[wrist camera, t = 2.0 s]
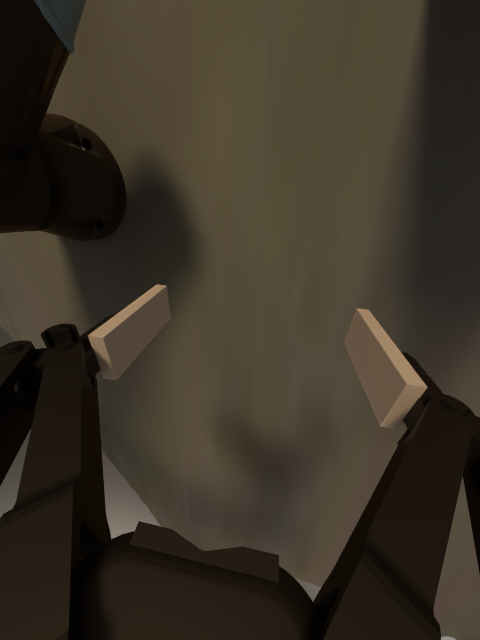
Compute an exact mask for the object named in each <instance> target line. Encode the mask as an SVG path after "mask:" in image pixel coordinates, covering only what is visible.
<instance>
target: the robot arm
mask: <svg viewBox="0 0 480 640" xmlns="http://www.w3.org/2000/svg"><path fill="white" fill-rule="evenodd" d="M85 2H86V0H0V233H9V232H24V231H44V232H47V233H51V234H55V235H59V236H63V237H66V238H70V239H74V240H81V241H88V240H98V239H102V238H105V237H107V236H109V235H110V234H112V233H113V232H114V231H115V230H116V229H117V227H118V226H119V224H120V222H121V220H122V217H123V214H124V209H125V189H124V183H123V179H122V176H121V172H120V170H119V167H118V165H117V163H116V161H115V159H114V157H113V155H112V153H111V152H110V150H109V149H108V147H107V146H106V145H105V143H104V142H103V141H102V140H101V139H100V138H99V137H98V136H97V135H96V134H95V133H94V132H92V131H91V130H90V129H88V128H87V127H85V126H83V125H82V124H79V123H77V122H75V121H73V120H71V119H68V118H66V117H63V116H60V115H56V114H46V112H47V109H48V106H49V104H50V101H51V99H52V96H53V93H54V91H55V88H56V86H57V83H58V81H59V78H60V76H61V73H62V71H63V69H64V66H65V64H66V61H67V59H68V56H69V54H70V53H71V54H73V52H74V49H75V47H74V44H73V42H74V39H75V35H76V32H77V28H78V25H79V22H80V18H81V15H82V12H83V9H84V5H85ZM170 319H171V316H170V308H169V299H168V291H167V286H166V285H158V284H157V285H155V286H154V287H153V288H151V289H150V290H149V291H147V292H146V293H145V294H143V295H142V296H140V297H139V298H138V299H136V300H135V301H134V302H132V303H131V304H130V305H128V306H127V307H126V308H124V309H123V310H122V311H120V312H119V313H118V314H117V313H116V314H113V315H111V316H108V317H106V318H105V319H104V320H102V321H101V323H98V324H97V325H95V326H94V327H93V328H91V329H90V330H88V331H87V332H86V333H84V334H83V335H81V336H79V333H78V331H77V328H76V326H75V325H73V324H59V325H56V326H52V327H50V328H48V329H46V330H45V331H43V332H42V333H41V337H42V339H43V341H44V343H45V345H46V347H47V348H43V349H35V348H34V346H33V344H32V342H30V341H17V342H16V341H15V342H12V343H8V344H6V345H4V346H3V347H0V485H1V484H2V482H3V480H4V478H5V476H6V474H7V472H8V470H9V469H10V467H11V465H12V463H13V461H14V459H15V457H16V455H17V453H18V452H19V450H20V448H21V446H22V444H23V442H24V440H25V438H26V436H27V434H28V433H29V430H30V429H31V433H30V437H29V443H28V447H27V452H26V456H25V461H24V466H23V471H22V476H21V480H20V485H19V490H18V495H17V500H16V503H15V506H14V507H13V509H12V510H10V511H8V512H6V513H4V514H3V515H2V517H1V518H0V640H441V632H440V625H439V623H438V622H437V620H436V619H435V617H434V613H433V608H434V602H435V597H436V593H437V588H438V584H439V579H440V575H441V570H442V566H443V561H444V557H445V552H446V548H447V543H448V539H449V534H450V530H451V525H452V521H453V516H454V512H455V507H456V503H457V498H458V494H459V489H460V485H461V480H462V476H463V480H464V485H465V491H466V497H467V503H468V509H469V514H470V520H471V526H472V532H473V538H474V543H475V549H476V555H477V561H478V567H479V573H480V417H477V416H475V415H474V413H473V412H472V410H471V409H470V408H469V407H468V406H466V405H465V404H464V403H463V402H461V401H459V400H458V399H456V398H454V397H451V396H449V395H445V394H443V393H442V392H441V390H440V389H439V388H438V387H437V385H436V384H435V383H434V382H433V381H432V379H431V378H430V377H429V376H428V375H427V374H426V372H425V371H424V369H423V368H421V366H420V365H419V363H418V362H417V361H416V360H415V359H414V358H413V357H411V356H410V355H409V354H407V353H404V352H400V351H399V349H398V348H397V347H396V345H395V344H394V343H393V341H392V340H391V339H390V337H389V336H388V335H387V333H386V332H385V331H384V329H383V328H382V327H381V325H380V324H379V323H378V322H377V320H376V319H375V318H374V316H373V315H372V314H371V312H370V311H369V310H365V309H357V308H356V311H355V314H354V316H353V319H352V322H351V324H350V327H349V330H348V332H347V335H346V337H345V340H344V344H345V346H346V349H347V351H348V353H349V356H350V358H351V360H352V363H353V365H354V367H355V370H356V372H357V374H358V377H359V379H360V381H361V384H362V386H363V388H364V391H365V393H366V395H367V398H368V400H369V402H370V405H371V407H372V409H373V412H374V414H375V416H376V419H377V421H378V423H379V426H381V427H387V428H393V429H398V428H399V426H400V425H401V423H402V422H403V421H404V423H405V425H406V426H407V428H408V429H407V431H406V432H405V433H404V435H403V436H402V437H401V439H400V440H399V441H398V443H397V444H398V447H397V449H396V450H395V452H394V454H393V456H392V458H391V460H390V462H389V464H388V466H387V468H386V470H385V471H384V473H383V475H382V477H381V479H380V481H379V483H378V485H377V487H376V489H375V490H374V492H373V494H372V496H371V498H370V500H369V502H368V504H367V506H366V508H365V510H364V511H363V513H362V515H361V517H360V519H359V521H358V523H357V525H356V527H355V529H354V531H353V532H352V534H351V536H350V538H349V540H348V542H347V544H346V546H345V548H344V550H343V552H342V553H341V555H340V557H339V559H338V561H337V563H336V565H335V567H334V568H333V570H332V572H331V574H330V575H329V577H328V578H327V580H326V581H325V583H324V584H323V586H322V587H321V589H320V591H319V593H318V594H317V596H316V598H315V600H314V602H312V600H311V598H310V597H309V596H308V594H307V593H306V591H305V590H304V589H303V587H302V586H301V585H300V584H299V583H298V582H297V581H296V580H295V578H294V577H292V576H291V575H290V574H289V573H288V572H287V571H286V570H284V569H283V568H281V567H280V566H279V555H275V554H271V553H267V552H263V551H259V550H255V549H251V548H247V547H236V548H228V549H220V550H212V551H203V550H201V549H199V548H198V547H196V546H195V545H193V544H192V543H190V542H189V541H188V540H186V539H185V538H183V537H182V536H180V535H179V534H178V533H176V532H175V531H173V530H172V529H168V528H164V527H160V526H156V525H152V524H148V523H143V522H140V521H139V523H138V525H137V527H136V530H135V531H134V532H130V533H126V534H122V535H120V536H118V537H116V538H113V539H111V535H110V529H109V526H108V522H107V517H106V510H105V496H104V480H103V465H102V450H101V435H100V420H99V406H98V391H97V379H96V377H95V375H96V374H97V373H98V372H99V371H101V373H102V376H103V378H104V379H110V380H115V381H117V380H118V379H119V378H120V376H121V375H122V374H123V373H124V372H125V371H126V369H127V368H128V367H129V366H130V365H131V364H132V363H133V361H134V360H135V359H136V358H137V357H138V356H139V355H140V353H141V352H142V351H143V350H144V349H145V348H146V346H147V345H148V344H149V343H150V342H151V341H152V340H153V338H154V337H155V336H156V335H157V334H158V333H159V331H160V330H161V329H162V328H163V327H164V326H165V325H166V323H167V322H168V321H169V320H170ZM31 427H32V428H31Z"/></svg>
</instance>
